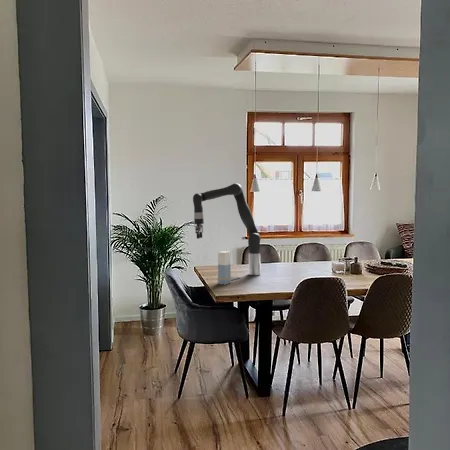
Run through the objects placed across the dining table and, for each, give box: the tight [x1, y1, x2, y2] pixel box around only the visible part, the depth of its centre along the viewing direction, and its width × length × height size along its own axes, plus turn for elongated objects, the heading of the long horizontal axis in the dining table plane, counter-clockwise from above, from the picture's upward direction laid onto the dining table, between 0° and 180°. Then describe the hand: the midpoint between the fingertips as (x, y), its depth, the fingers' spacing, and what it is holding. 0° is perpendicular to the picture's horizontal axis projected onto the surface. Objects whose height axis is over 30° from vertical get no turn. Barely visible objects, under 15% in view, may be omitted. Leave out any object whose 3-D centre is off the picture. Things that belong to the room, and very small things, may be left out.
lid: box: [217, 250, 231, 266], centre depth 335 cm, size 6×6×9 cm
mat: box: [231, 275, 241, 281], centre depth 354 cm, size 12×12×1 cm
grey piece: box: [217, 263, 232, 286], centre depth 336 cm, size 6×6×14 cm
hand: (199, 238), depth 377 cm, fingers open, 8 cm apart
